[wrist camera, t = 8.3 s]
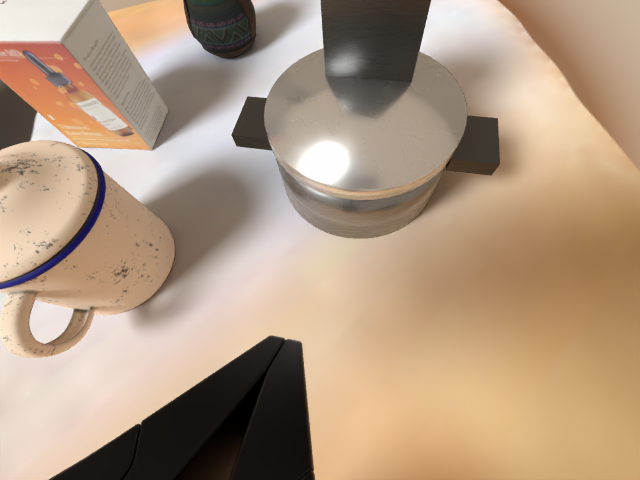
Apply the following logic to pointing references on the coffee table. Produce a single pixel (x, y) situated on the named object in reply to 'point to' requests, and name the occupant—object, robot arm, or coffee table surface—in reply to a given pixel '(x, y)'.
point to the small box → (79, 73)
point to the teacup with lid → (71, 243)
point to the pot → (378, 214)
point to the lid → (366, 104)
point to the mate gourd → (222, 25)
